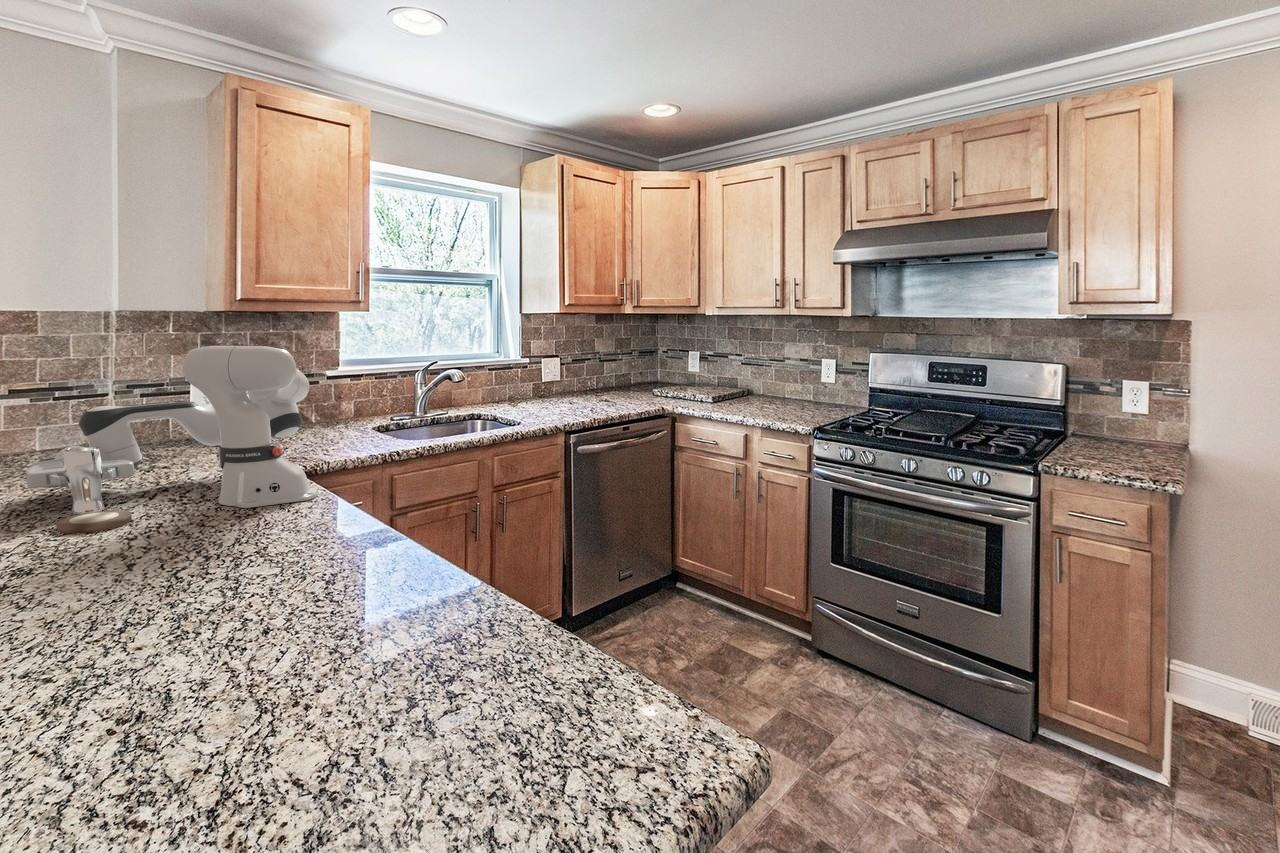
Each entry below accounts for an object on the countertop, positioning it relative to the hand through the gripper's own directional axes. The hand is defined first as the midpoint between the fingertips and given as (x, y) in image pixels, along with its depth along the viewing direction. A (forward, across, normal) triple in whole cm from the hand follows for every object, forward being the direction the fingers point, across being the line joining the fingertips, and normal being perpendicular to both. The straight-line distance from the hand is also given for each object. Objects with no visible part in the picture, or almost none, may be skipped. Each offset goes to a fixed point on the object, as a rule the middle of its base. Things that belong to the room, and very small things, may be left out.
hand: (85, 478), depth 158 cm
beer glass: (-1, 0, -8) cm, 8 cm away
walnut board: (+14, 0, -8) cm, 16 cm away
